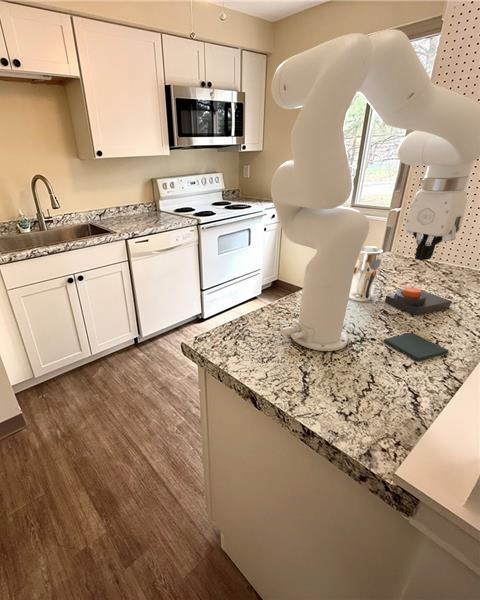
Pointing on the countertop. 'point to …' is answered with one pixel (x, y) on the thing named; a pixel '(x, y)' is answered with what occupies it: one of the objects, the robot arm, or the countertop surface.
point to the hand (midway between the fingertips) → (422, 258)
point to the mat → (415, 346)
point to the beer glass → (365, 273)
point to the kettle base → (418, 302)
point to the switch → (411, 292)
